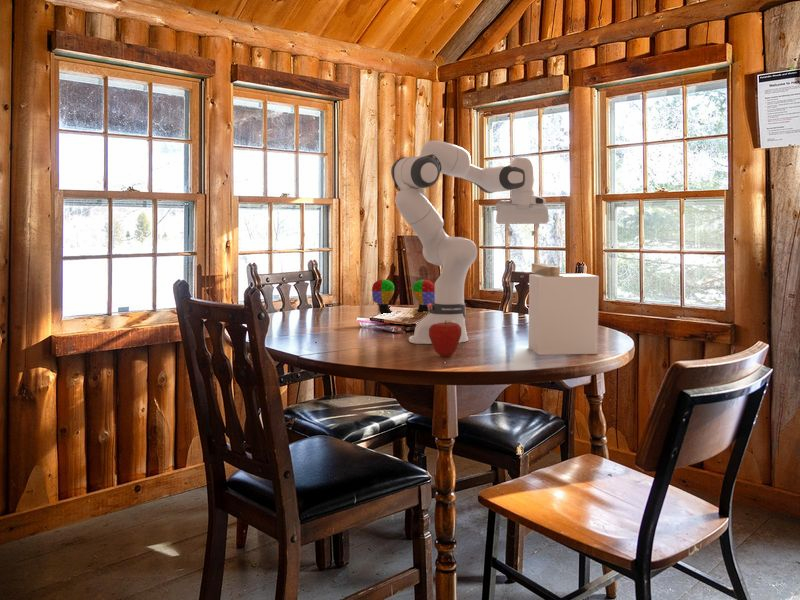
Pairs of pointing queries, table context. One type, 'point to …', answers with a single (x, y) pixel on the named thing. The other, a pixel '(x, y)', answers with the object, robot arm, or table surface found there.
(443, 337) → the apple
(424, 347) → the table surface
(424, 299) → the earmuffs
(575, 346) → the white cardboard box
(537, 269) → the tan rectangular block
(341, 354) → the table surface
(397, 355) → the table surface
